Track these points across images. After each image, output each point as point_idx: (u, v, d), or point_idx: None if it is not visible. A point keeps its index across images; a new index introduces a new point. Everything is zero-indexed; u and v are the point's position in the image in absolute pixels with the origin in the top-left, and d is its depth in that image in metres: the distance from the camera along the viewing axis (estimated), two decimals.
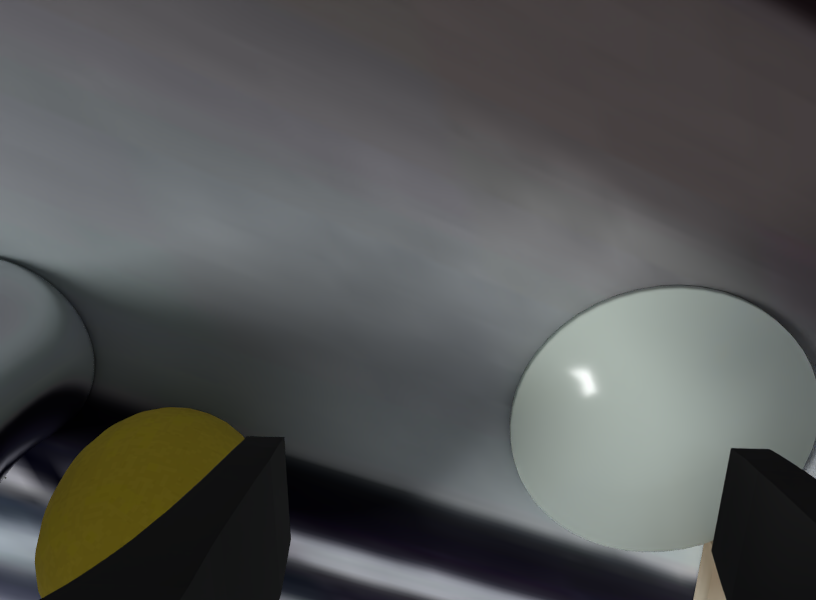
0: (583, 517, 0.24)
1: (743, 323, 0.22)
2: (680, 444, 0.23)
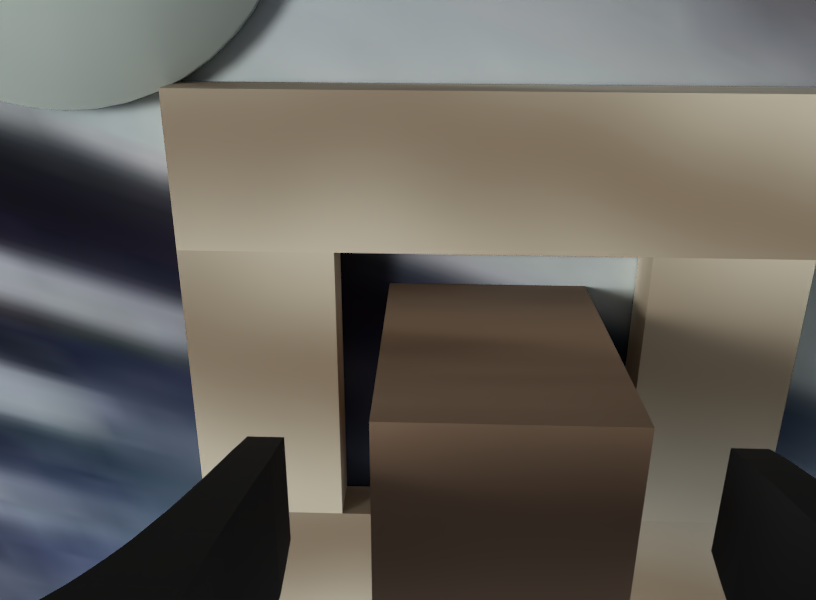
0: None
1: None
2: None
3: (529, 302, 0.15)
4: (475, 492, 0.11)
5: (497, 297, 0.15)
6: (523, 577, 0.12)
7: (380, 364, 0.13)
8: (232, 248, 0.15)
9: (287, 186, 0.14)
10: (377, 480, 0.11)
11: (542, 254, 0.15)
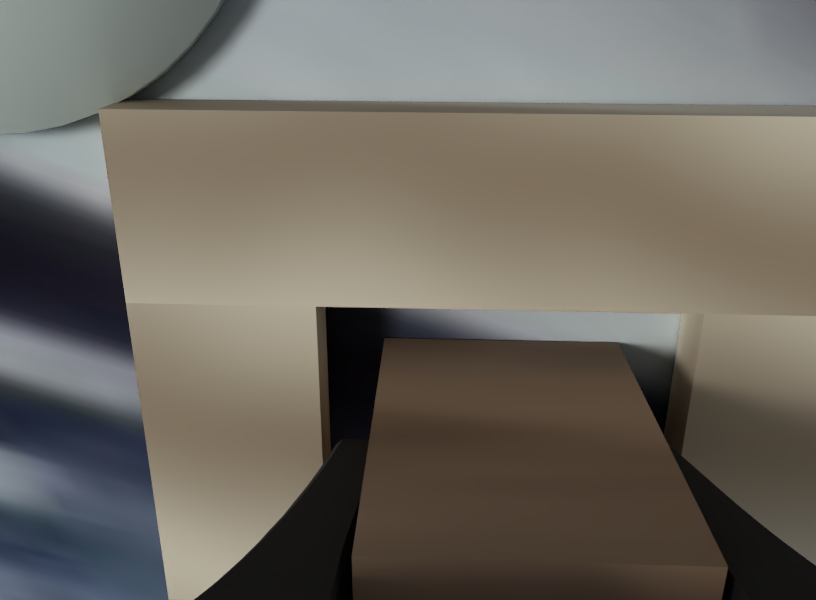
0: None
1: None
2: None
3: (553, 366, 0.13)
4: None
5: (513, 359, 0.13)
6: None
7: (369, 461, 0.10)
8: (193, 301, 0.12)
9: (258, 227, 0.12)
10: None
11: (569, 309, 0.12)
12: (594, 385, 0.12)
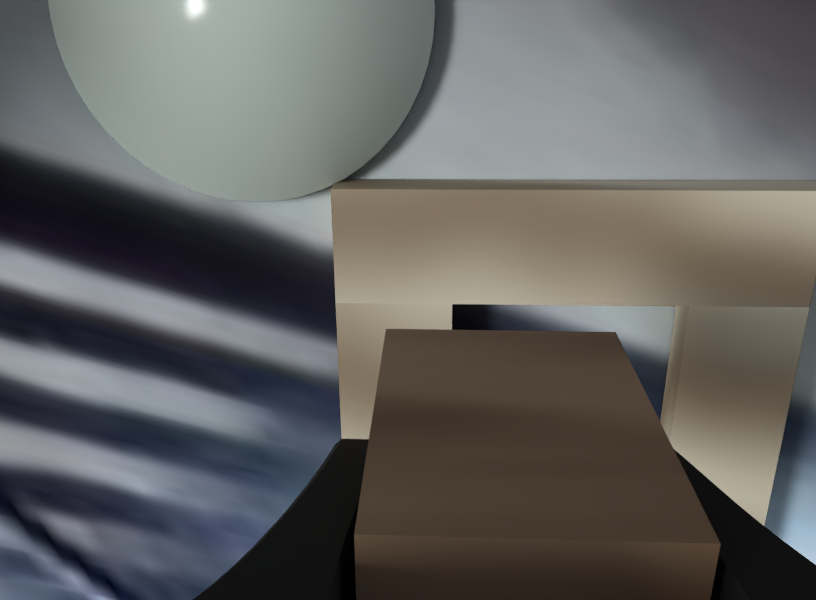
0: (169, 151, 0.19)
1: None
2: (266, 33, 0.18)
3: (551, 355, 0.13)
4: None
5: (512, 348, 0.13)
6: None
7: (371, 445, 0.10)
8: (377, 301, 0.20)
9: (420, 257, 0.20)
10: None
11: (607, 304, 0.20)
12: (591, 373, 0.12)
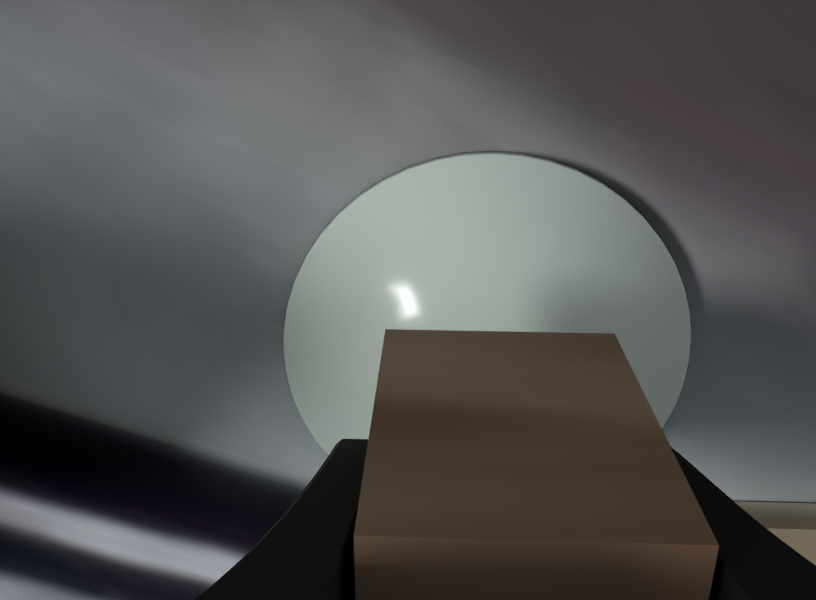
0: None
1: (578, 202, 0.16)
2: None
3: (550, 356, 0.13)
4: None
5: (512, 349, 0.13)
6: None
7: (370, 446, 0.10)
8: None
9: None
10: None
11: None
12: (590, 374, 0.12)
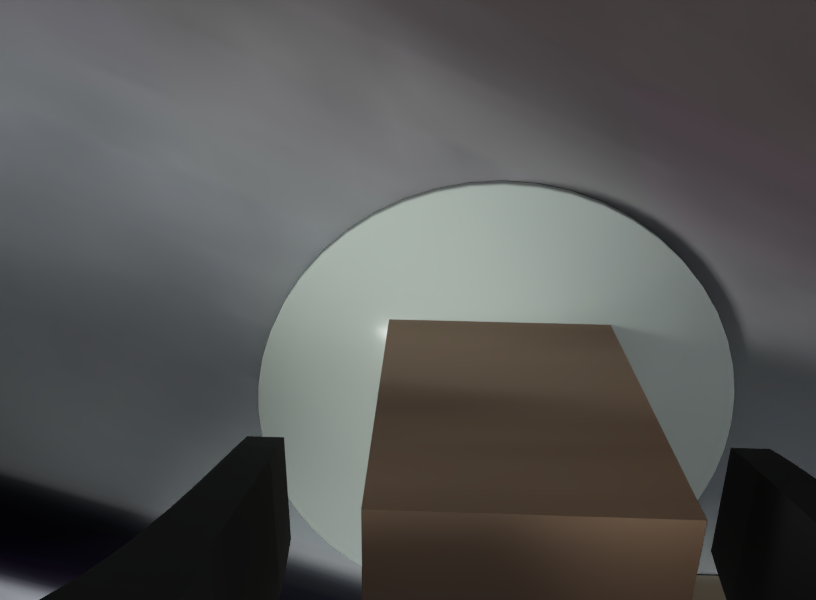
0: None
1: (604, 242, 0.13)
2: None
3: (549, 345, 0.13)
4: (488, 591, 0.10)
5: (511, 339, 0.13)
6: None
7: (376, 428, 0.11)
8: None
9: None
10: (371, 576, 0.10)
11: None
12: (587, 362, 0.13)
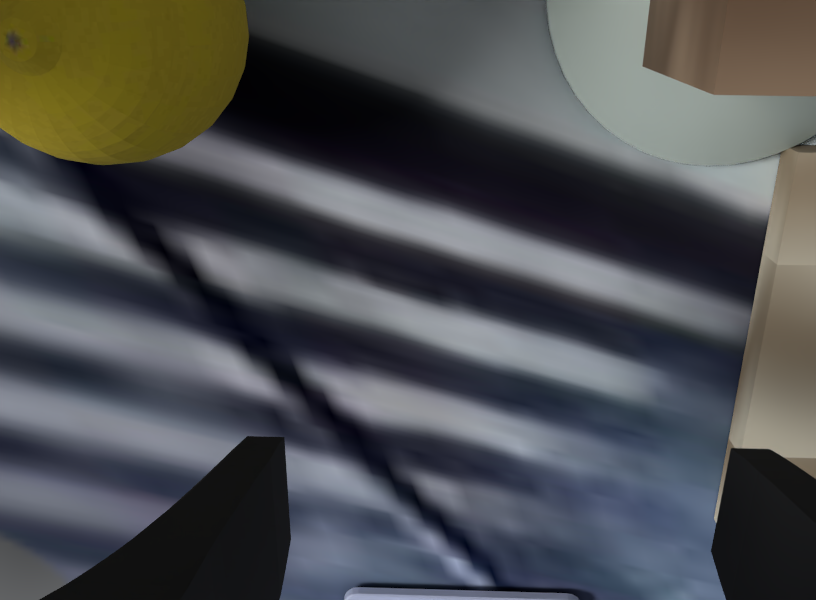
0: (634, 115, 0.20)
1: None
2: None
3: None
4: None
5: None
6: None
7: None
8: None
9: None
10: None
11: None
12: None
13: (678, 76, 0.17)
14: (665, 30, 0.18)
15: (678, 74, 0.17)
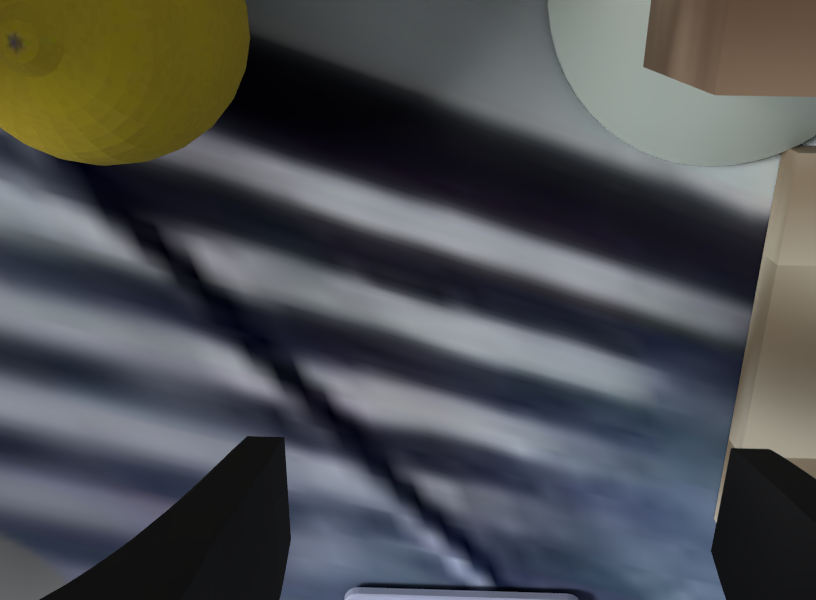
0: (635, 116, 0.20)
1: None
2: None
3: None
4: None
5: None
6: None
7: None
8: None
9: None
10: None
11: None
12: None
13: (679, 76, 0.17)
14: (666, 30, 0.18)
15: (679, 74, 0.17)
